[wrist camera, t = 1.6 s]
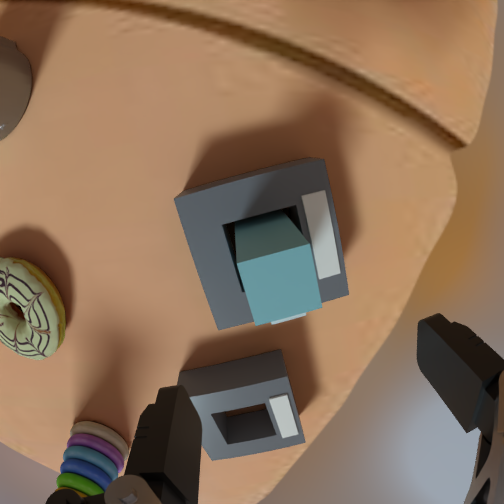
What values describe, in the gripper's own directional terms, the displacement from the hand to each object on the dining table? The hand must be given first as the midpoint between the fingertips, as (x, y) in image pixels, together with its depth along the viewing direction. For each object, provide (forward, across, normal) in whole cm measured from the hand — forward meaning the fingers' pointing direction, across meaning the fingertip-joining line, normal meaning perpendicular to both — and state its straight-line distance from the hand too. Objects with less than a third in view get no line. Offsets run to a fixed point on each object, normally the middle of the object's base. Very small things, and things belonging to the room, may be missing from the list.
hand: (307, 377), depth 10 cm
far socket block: (+17, +6, +16) cm, 24 cm away
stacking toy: (+17, +26, +20) cm, 37 cm away
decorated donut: (+17, +24, 0) cm, 29 cm away
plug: (+17, 0, 0) cm, 17 cm away
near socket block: (+17, 0, 0) cm, 17 cm away
